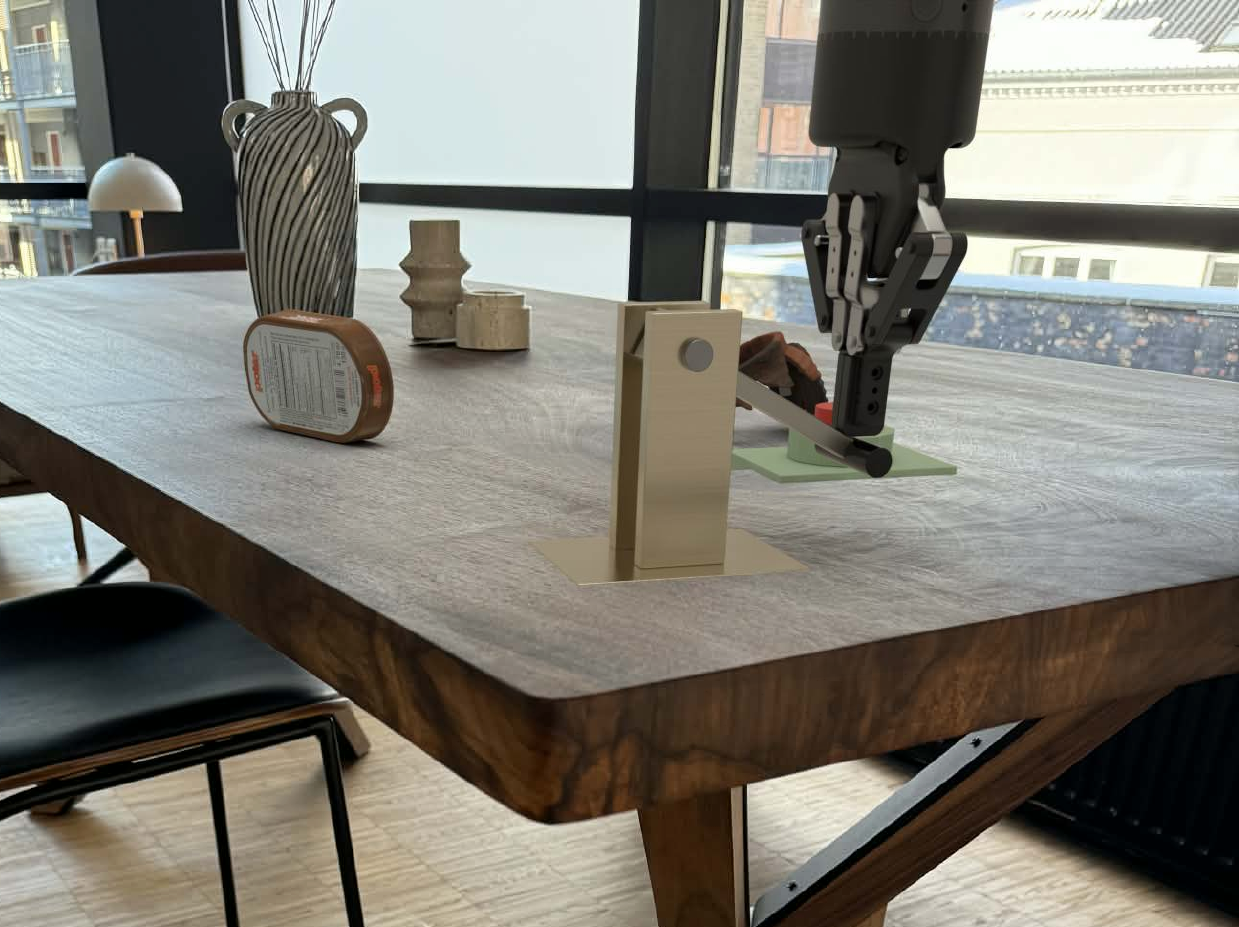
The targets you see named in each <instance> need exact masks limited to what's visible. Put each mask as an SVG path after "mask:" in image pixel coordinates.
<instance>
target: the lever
mask: <svg viewBox="0 0 1239 927" xmlns="http://www.w3.org/2000/svg"><path fill="white" fill-rule="evenodd" d="M656 311H669V310H665V309H662V308H657V310H656ZM644 337H645V334H644V336H643V338H642V340H641V342H640V344H639V346H638V348H637V350H636V352H635V354H634V356H635V357H637V358H638V359H640V360H642V361H643V360H644ZM736 397H737V398H739V399H740V400H742V401H744V402H746V403H747V404H749V405H751V406H752V408H753V409H756V410H758V411H759V412H761V413H762V414H764V415H766V416H768V417H769V418H771V419H773V420H775V421H776V422H778V423H780V425H783V426H785V427H786V428H788V429H791V430H793V431H795V432H797V433H798V434H800V435H802V436H803V437H805V438H807V439H808V440H810V441H812V442H814V445H815V450H816V452H817V453H818V454H819V455H821V456H823V457H825V458H828V459H830V460H832V461H835V462H837V463H840V464H842V465H844V466H847V467H849V468H851V469H854V470H856V471H858V472H861V473H863V474H865V475H868V476H870V477H873V478H872V479H882V478H881V477H883V476H885V475H886V474H887V473H888V472H889V471H890V469H891V467H892V463H893V458H892V455H891V453H890V451H889V450H887V449H886V448H883V447H881V446H878V445H875V444H873V443H870V442H867V441H865V440H862V439H860V438H857V437H849V436H846V435H845V434H843V433H842V432H840V431H838V430H837V429H835V428H833V427H832V426H830V425H828V424H827V423H825V422H823V421H822V420H820V419H818V418H817V417H815V416H813V415H812V414H810V413H808V412H807V411H806V410H803V409H802V408H800V407H798V406H797V405H795V404H793V403H792V402H790V401H788V400H787V399H785V398H783V397H782V396H780V395H778V394H776V393H775V392H773V391H771V390H770V389H769V388H768V387H767V386H765V385H763V384H761V383H760V382H758V381H755V380H753V379H751V378H750V377H748V376H746V375H745V374H743V373H741V372H740V371H738V381H737V395H736Z"/></svg>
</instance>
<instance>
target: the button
mask: <svg viewBox="0 0 1239 927" xmlns="http://www.w3.org/2000/svg"><path fill="white" fill-rule="evenodd" d="M832 409H833V401H828V402H826V403H820V404H817V405H816V406H815V417H817V418H818V419H820V420H822V421H823V422H825V423H827V424H828V425H830V426H831V418H832Z"/></svg>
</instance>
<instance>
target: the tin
mask: <svg viewBox="0 0 1239 927" xmlns="http://www.w3.org/2000/svg"><path fill="white" fill-rule="evenodd" d="M242 350H243V352H242V353H243V364H244V365H243V366H244V372H245V379H246V383H247V389H248V395H249V396H250V399H251V401H252V403H253V405H254V407H255V409H256V410H257V412H258V413H259V415H260V416H261V417H262V418H263V420H265V421H266V422H267V423H268V425H270V426H272V427H273V428H275V429H276V430H277V429H278V430H281V431H284V432H290V433H294V434H299V435H303V436H308V437H312V438H316V439H321V440H325V441H329V442H334V443H339V444H340V443H341V444H349V443H354V442H359V441H363V440H364V441H366V440H373V439H375V438H377V437H378V436H379V435H381V434H382V433H383V431H384V430H385V429H386V427H387V426H388V425H389V424H388V423H389V421H390V419H391V415H392V413H393V408H394V399H395V398H394V397H395V387H394V386H395V385H394V379H393V378H394V377H393V372H392V367H391V364H390V362H389V358H388V356H387V353H386V351H385V348H384V347H383V345H382V343H381V341H380V340H379V338H378V337H377V335H376V333H374V331H373V330H372V329H371V328H370V327H369V326H368V325H366V324H365V323H364V322H362V321H361V320H358V319H356V318H353V317H345V316H339V315H331V314H324V313H318V312H311V311H305V310H300V309H299V310H298V309H291V308H288V309H284V310H281V311H280V312H275V313H270V314H265V315H262V316H260V317H257V318H256V319H255V320H254V321H252V322H251V323H250V325H249V326H248V329H247V330H246V333H245V335H244V338H243V343H242Z"/></svg>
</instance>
